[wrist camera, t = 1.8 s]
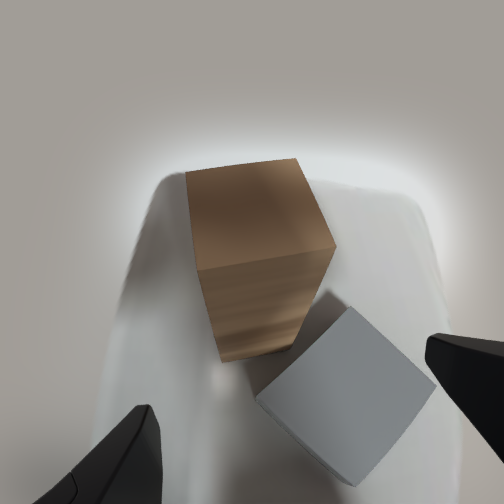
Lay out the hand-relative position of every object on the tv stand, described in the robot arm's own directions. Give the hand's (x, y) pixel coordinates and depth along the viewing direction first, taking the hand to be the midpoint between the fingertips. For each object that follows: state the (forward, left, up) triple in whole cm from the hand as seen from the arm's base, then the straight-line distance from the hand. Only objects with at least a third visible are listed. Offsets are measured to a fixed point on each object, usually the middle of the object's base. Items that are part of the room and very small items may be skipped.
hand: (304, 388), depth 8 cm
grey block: (+4, -3, -13) cm, 14 cm away
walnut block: (+4, +6, -13) cm, 15 cm away
